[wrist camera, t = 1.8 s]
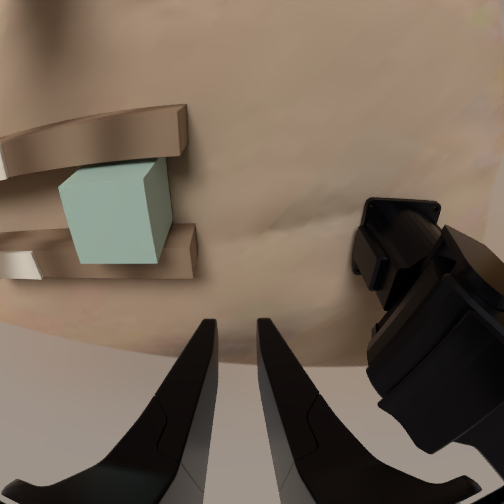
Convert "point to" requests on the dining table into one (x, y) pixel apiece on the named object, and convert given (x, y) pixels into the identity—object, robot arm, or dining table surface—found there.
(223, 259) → the dining table surface
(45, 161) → the chute
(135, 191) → the block
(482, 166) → the dining table surface
